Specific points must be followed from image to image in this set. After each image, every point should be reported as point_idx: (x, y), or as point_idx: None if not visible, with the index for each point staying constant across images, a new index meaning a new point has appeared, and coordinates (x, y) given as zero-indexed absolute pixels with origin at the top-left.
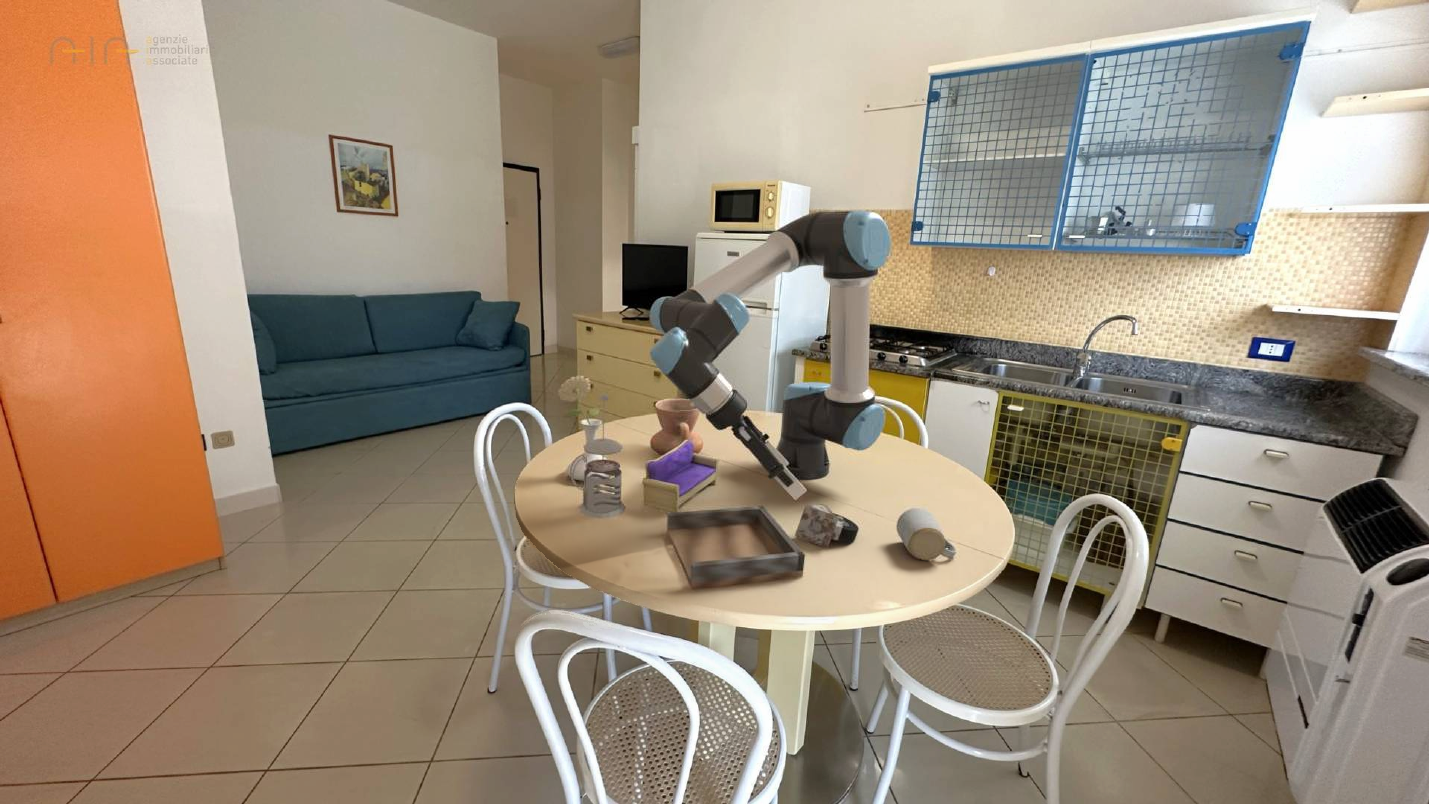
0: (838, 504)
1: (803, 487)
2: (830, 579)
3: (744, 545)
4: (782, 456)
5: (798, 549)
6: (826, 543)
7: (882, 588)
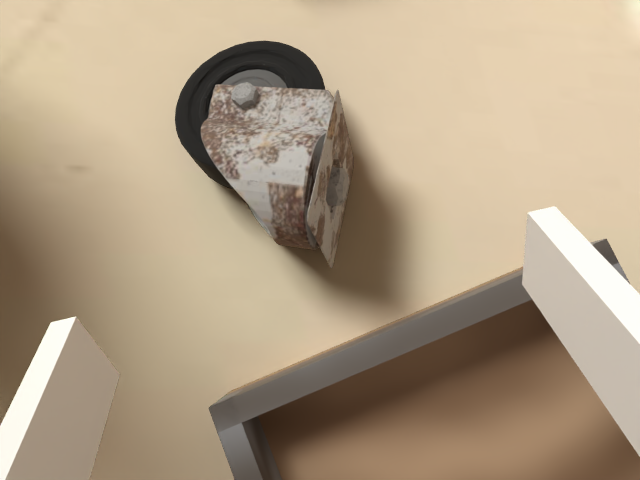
0: (11, 104)
1: (573, 227)
2: (555, 163)
3: (454, 457)
4: (48, 379)
5: None
6: (351, 161)
7: (563, 19)
